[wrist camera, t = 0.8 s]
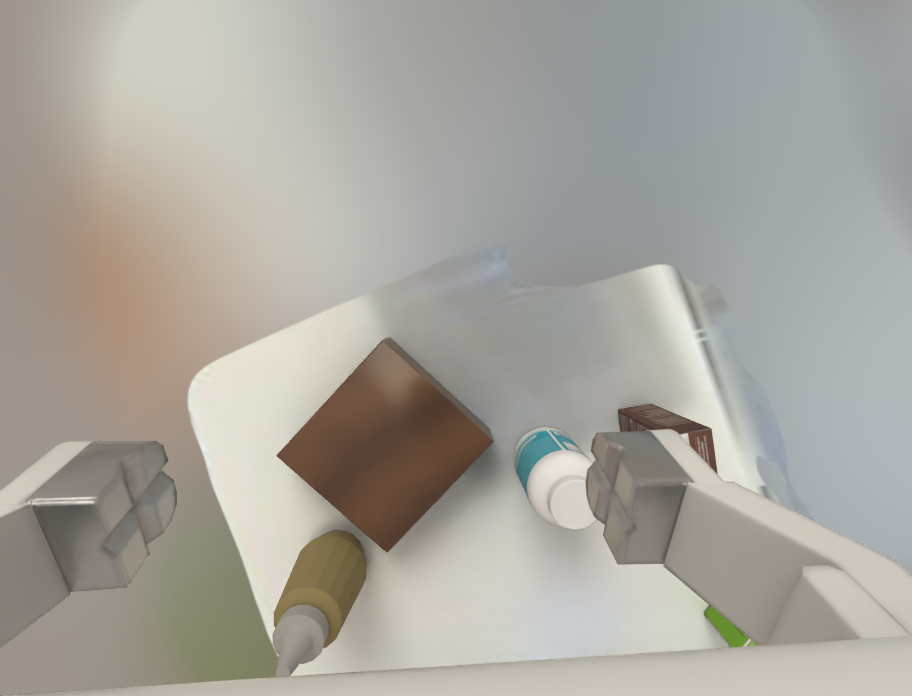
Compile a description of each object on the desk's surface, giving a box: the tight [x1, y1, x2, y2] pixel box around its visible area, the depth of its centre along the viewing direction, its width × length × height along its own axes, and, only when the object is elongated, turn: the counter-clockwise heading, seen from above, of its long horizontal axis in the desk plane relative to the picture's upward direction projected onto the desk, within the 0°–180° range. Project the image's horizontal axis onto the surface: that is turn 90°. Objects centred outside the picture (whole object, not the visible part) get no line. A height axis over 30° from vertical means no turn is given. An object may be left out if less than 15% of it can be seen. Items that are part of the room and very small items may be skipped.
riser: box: [277, 337, 493, 552], centre depth 50 cm, size 16×17×5 cm
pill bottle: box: [514, 427, 597, 530], centre depth 46 cm, size 8×7×14 cm
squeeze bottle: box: [273, 531, 366, 677], centre depth 45 cm, size 8×8×18 cm
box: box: [618, 404, 718, 475], centre depth 47 cm, size 6×4×12 cm
